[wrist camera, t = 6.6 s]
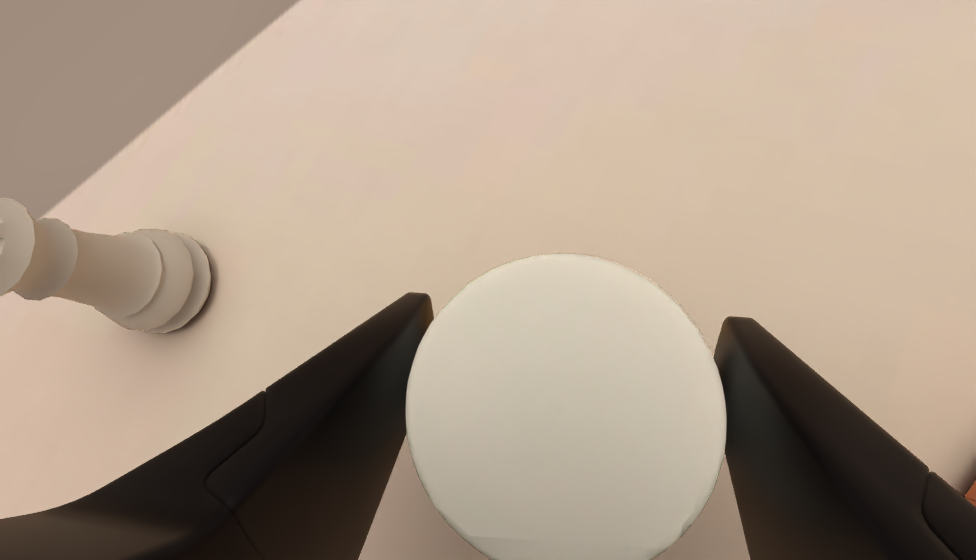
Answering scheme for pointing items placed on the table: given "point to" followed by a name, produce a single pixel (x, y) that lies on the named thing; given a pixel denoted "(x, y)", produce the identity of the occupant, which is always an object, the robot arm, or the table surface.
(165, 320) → the rook chess piece
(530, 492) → the supplement bottle
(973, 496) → the bowl
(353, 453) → the robot arm
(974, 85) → the table surface
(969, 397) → the table surface
